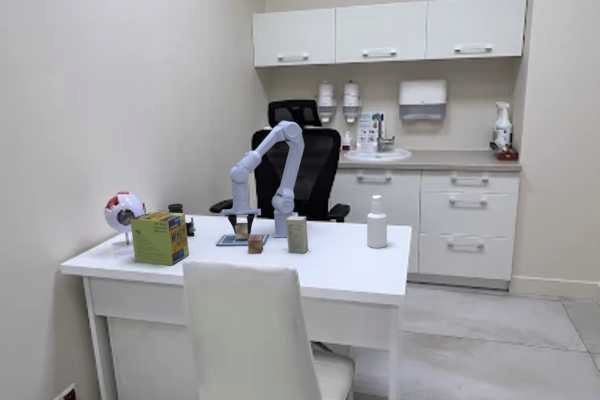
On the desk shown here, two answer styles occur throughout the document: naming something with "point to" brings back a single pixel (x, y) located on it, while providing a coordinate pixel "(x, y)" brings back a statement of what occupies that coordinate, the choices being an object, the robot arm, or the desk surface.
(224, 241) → the board
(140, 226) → the protein box
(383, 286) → the desk surface
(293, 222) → the skincare box
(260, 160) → the robot arm
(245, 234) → the maple block
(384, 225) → the spray bottle
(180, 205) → the scope
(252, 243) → the walnut block
